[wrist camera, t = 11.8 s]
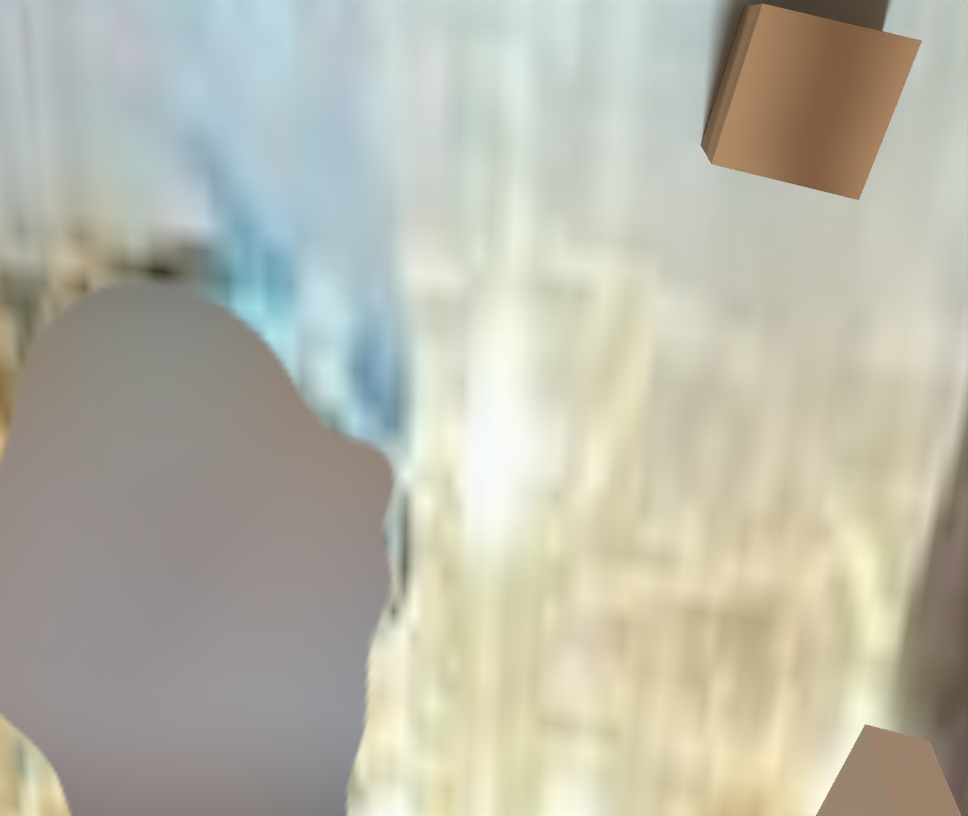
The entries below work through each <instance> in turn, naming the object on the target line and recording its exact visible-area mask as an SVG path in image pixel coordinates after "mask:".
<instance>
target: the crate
mask: <svg viewBox="0 0 968 816" xmlns="http://www.w3.org/2000/svg"><path fill="white" fill-rule="evenodd" d="M921 42H922V41H921V40H917V39H913V38H908V37H904V36H900V35H896V34H891V33H887V32H883V31H878V30H874V29H870V28H866V27H861V26H857V25H853V24H848V23H844V22H840V21H836V20H831V19H827V18H823V17H818V16H814V15H810V14H806V13H801V12H797V11H793V10H789V9H784V8H780V7H776V6H771V5H767V4H763V3H762V4H756V5H750V6H745V7H744V9H743V12H742V15H741V19H740V22H739V25H738V28H737V32H736V35H735V38H734V41H733V44H732V48H731V51H730V54H729V57H728V61H727V64H726V67H725V70H724V73H723V77H722V80H721V83H720V86H719V89H718V93H717V96H716V99H715V102H714V106H713V109H712V112H711V115H710V118H709V122H708V125H707V128H706V131H705V134H704V138H703V141H702V144H701V147H702V148H703V150H704V152H705V153H706V155H707V157H708V159H709V160H710V162H711V164H714V165H718V166H722V167H726V168H730V169H734V170H738V171H742V172H747V173H751V174H755V175H759V176H763V177H767V178H771V179H775V180H779V181H783V182H788V183H792V184H796V185H800V186H804V187H808V188H812V189H816V190H820V191H824V192H828V193H833V194H837V195H841V196H845V197H849V198H853V199H857V200H859V198H860V195H861V193H862V190H863V188H864V185H865V183H866V180H867V178H868V175H869V173H870V170H871V168H872V165H873V163H874V160H875V158H876V155H877V153H878V150H879V148H880V145H881V142H882V140H883V137H884V135H885V132H886V130H887V127H888V125H889V122H890V120H891V117H892V115H893V112H894V110H895V107H896V105H897V102H898V100H899V97H900V95H901V92H902V90H903V87H904V84H905V82H906V79H907V77H908V74H909V72H910V69H911V67H912V64H913V62H914V59H915V57H916V54H917V52H918V49H919V47H920V44H921Z"/></svg>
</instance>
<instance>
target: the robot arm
mask: <svg viewBox="0 0 968 816" xmlns="http://www.w3.org/2000/svg"><path fill="white" fill-rule="evenodd" d="M816 816H961V814H960V812H959V809H958V807H957V805H956V802H955V800H954V798H953V795H952V793H951V791H950V788H949V786H948V784H947V781H946V779H945V777H944V774H943V772H942V770H941V767H940V765H939V763H938V760H937V758H936V756H935V753H934V751H933V749H932V747H931V744H930V742H929V741H926V740H922V739H919V738H915V737H911V736H907V735H904V734H900V733H896V732H892V731H889V730H885V729H881V728H877V727H873V726H870V725H866V724H865V726H864V728H863V730H862V731H861V733H860V735H859V737H858V739H857V741H856V743H855V744H854V746H853V748H852V750H851V752H850V754H849V756H848V757H847V759H846V761H845V763H844V765H843V767H842V768H841V770H840V772H839V774H838V776H837V778H836V780H835V781H834V783H833V785H832V787H831V789H830V791H829V793H828V794H827V796H826V798H825V800H824V802H823V804H822V806H821V807H820V809H819V811H818V813H817V815H816Z"/></svg>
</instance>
